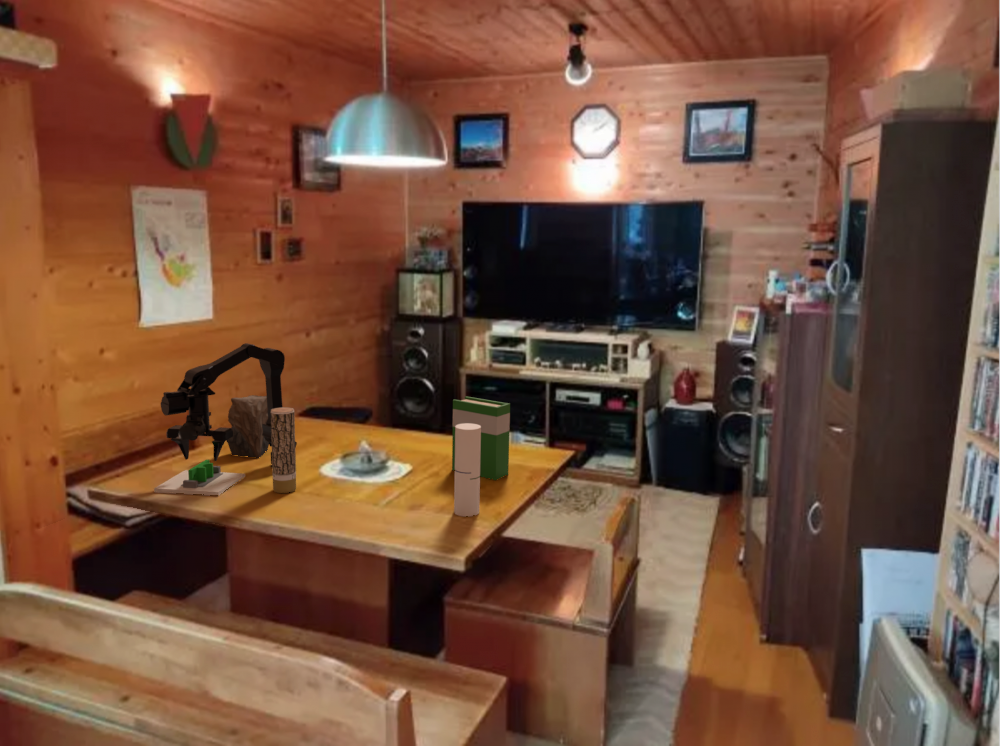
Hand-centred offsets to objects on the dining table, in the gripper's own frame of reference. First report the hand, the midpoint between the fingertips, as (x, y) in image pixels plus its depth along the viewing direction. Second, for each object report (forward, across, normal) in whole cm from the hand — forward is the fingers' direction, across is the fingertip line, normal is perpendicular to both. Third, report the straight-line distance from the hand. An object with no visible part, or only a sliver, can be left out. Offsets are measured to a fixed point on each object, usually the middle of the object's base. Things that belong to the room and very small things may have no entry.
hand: (201, 460), depth 233 cm
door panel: (+8, 0, -1) cm, 8 cm away
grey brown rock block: (+8, +1, +33) cm, 34 cm away
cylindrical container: (+8, +84, -11) cm, 85 cm away
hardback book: (+8, +83, +26) cm, 87 cm away
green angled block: (+6, 0, 0) cm, 6 cm away
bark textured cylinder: (+8, +27, -2) cm, 28 cm away
